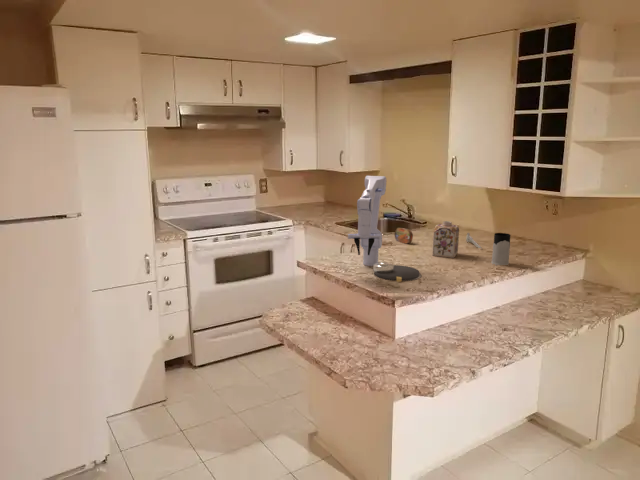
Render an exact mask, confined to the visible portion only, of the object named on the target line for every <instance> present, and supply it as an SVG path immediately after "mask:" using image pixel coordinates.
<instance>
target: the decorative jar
mask: <svg viewBox="0 0 640 480" xmlns="http://www.w3.org/2000/svg"><path fill="white" fill-rule="evenodd" d="M432 232H433V239H432V253H431V254H432V257H439V258H440V257H443V258H451V259H454V258H455V257H456V256H457V255H458V252H459V239H460V236H459V235H460V227H459V226H458V225H456V224H453V223H452V221H447V220H446V221H445V220H444V221H442V223H439V224H436V225H435V227H434V229H433V231H432Z"/></svg>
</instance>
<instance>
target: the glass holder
mask: <svg viewBox="0 0 640 480" xmlns="http://www.w3.org/2000/svg"><path fill="white" fill-rule="evenodd" d="M493 234H494V235H493V236H494V237H493V243H492V254H491V261H490V264H491V263H492V264H491V265H493V264H495V265H494V266H497V265H508V264H509V265H510V263H509V259H510V249H511V235H512V234H509V233H506V232H495V233H493ZM509 265H508V266H509Z"/></svg>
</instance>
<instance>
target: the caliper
mask: <svg viewBox="0 0 640 480" xmlns="http://www.w3.org/2000/svg"><path fill="white" fill-rule="evenodd" d="M466 233H467V234H466V236H465V237H466V238H465V242H466V241H467V242H469V243H472V244H473V245H474V246H475V247H476V248H477V247H478V248H481V249H482V247H481V245H480V244H478V243H477V241H475V240H474V238H473V236H471V234H470V232H466ZM467 242H466V243H467ZM478 248H477V249H478Z"/></svg>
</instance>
